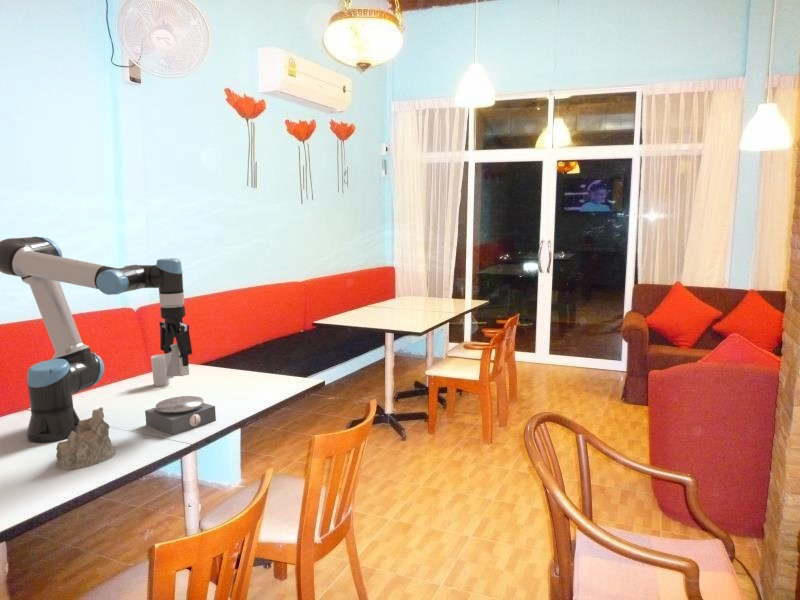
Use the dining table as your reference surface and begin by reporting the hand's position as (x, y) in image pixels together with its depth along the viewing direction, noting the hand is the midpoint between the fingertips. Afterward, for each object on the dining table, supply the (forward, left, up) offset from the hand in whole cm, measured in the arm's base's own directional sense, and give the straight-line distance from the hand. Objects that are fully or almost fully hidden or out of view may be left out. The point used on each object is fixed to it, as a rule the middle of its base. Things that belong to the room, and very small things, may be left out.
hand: (177, 373), depth 194 cm
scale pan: (0, 0, -11) cm, 11 cm away
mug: (+22, +47, -17) cm, 55 cm away
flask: (0, 0, -1) cm, 1 cm away
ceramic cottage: (-32, -2, -18) cm, 37 cm away
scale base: (0, 0, -17) cm, 17 cm away
